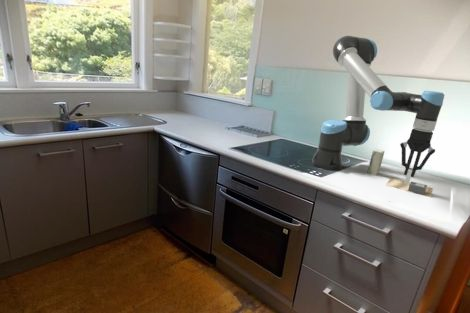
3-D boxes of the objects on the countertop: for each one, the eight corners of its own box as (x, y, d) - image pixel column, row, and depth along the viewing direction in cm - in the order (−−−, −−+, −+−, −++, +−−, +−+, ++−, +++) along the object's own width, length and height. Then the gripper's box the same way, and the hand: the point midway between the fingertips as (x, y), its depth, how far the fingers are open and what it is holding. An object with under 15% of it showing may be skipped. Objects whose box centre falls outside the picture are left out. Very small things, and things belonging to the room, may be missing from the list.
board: (385, 187, 128) (385, 184, 128) (390, 179, 139) (391, 177, 138) (429, 200, 119) (430, 197, 118) (432, 190, 129) (432, 188, 129)
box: (369, 172, 146) (375, 148, 142) (378, 175, 143) (385, 150, 139) (366, 175, 142) (372, 150, 138) (375, 177, 139) (382, 152, 135)
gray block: (407, 190, 123) (409, 183, 122) (409, 187, 127) (411, 180, 126) (424, 195, 120) (426, 188, 119) (425, 191, 124) (427, 184, 123)
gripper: (403, 127, 119) (388, 180, 126) (441, 134, 111) (423, 190, 119) (406, 125, 124) (391, 176, 132) (442, 132, 117) (424, 185, 125)
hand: (406, 182), depth 125 cm, fingers closed
